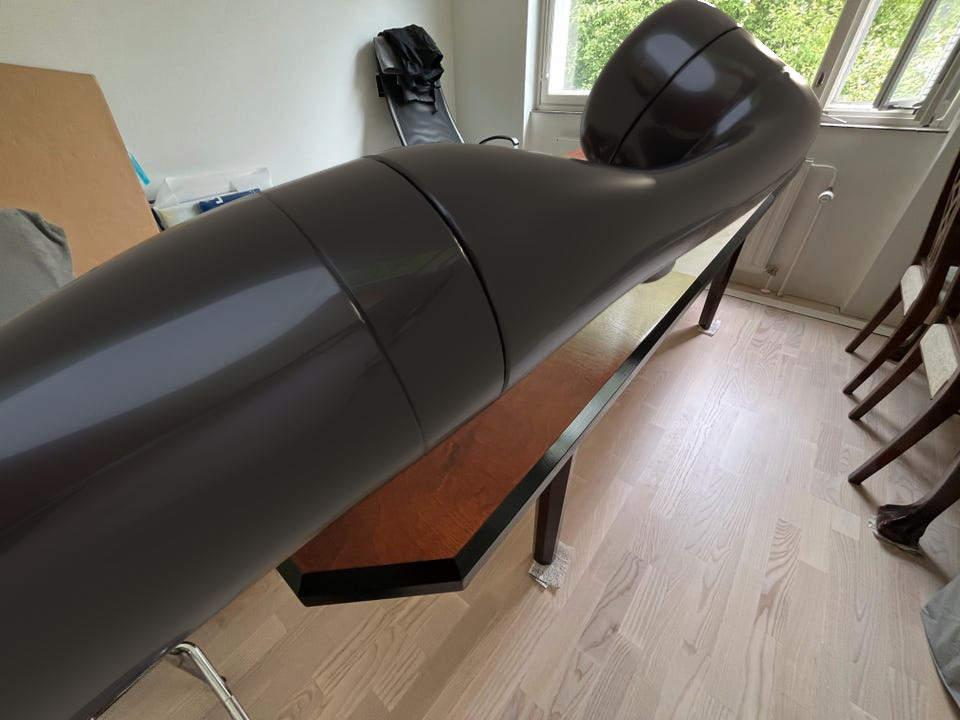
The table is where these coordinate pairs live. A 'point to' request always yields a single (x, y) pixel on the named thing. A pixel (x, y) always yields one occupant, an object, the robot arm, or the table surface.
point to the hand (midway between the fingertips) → (400, 271)
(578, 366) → the table surface
